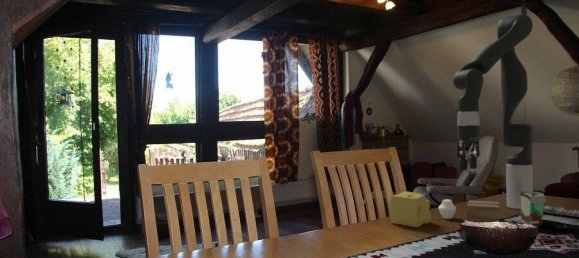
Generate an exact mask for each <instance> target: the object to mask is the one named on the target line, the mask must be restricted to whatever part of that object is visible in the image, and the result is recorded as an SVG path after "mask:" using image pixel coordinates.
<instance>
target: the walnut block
mask: <svg viewBox="0 0 579 258" xmlns="http://www.w3.org/2000/svg"><path fill="white" fill-rule="evenodd" d="M500 217H501V216H500V201H488V200H487V201H485V200H468V202H467V204H466V222H467V221H479V222H494V221H499V222H500Z"/></svg>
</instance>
